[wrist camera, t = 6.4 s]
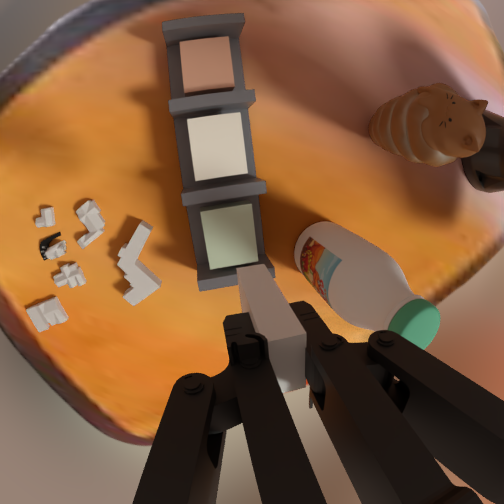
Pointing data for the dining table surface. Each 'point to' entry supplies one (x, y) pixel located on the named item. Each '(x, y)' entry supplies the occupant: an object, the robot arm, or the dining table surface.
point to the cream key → (217, 146)
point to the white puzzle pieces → (72, 275)
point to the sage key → (229, 234)
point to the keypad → (181, 110)
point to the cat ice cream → (430, 125)
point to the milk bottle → (363, 283)
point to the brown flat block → (206, 66)
